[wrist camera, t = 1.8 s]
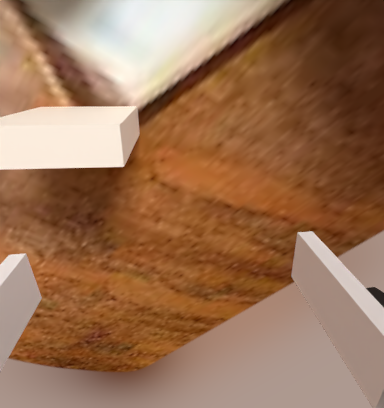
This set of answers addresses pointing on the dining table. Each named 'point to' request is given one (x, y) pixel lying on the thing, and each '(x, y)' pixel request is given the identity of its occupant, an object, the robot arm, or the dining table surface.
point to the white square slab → (68, 137)
